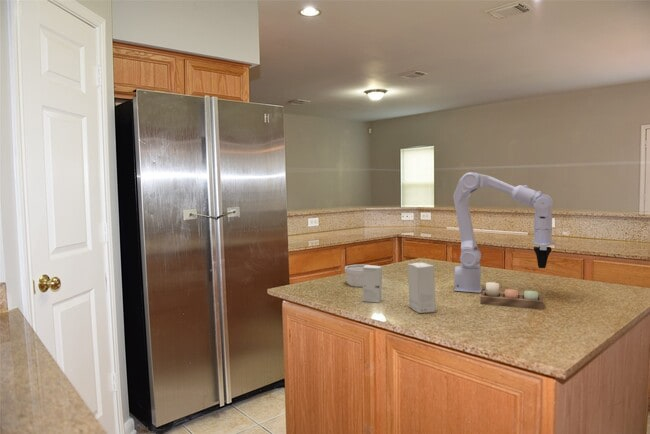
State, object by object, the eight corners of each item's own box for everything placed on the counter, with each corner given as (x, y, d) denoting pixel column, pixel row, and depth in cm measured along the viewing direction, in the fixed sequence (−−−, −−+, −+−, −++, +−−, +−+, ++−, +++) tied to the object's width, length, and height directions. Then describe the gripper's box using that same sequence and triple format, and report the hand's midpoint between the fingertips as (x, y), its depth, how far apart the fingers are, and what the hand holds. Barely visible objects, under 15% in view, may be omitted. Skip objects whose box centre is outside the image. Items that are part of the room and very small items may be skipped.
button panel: (480, 303, 153) (480, 296, 153) (482, 297, 161) (482, 290, 161) (543, 309, 145) (543, 301, 145) (542, 302, 154) (542, 295, 153)
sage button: (523, 304, 150) (524, 292, 150) (523, 301, 154) (524, 290, 153) (538, 306, 148) (538, 294, 148) (537, 302, 152) (537, 291, 152)
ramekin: (377, 280, 191) (377, 264, 190) (377, 288, 178) (377, 270, 177) (345, 280, 192) (345, 264, 191) (343, 287, 179) (343, 270, 178)
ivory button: (485, 296, 154) (485, 284, 154) (486, 293, 158) (486, 281, 158) (498, 297, 153) (498, 285, 152) (499, 294, 157) (499, 282, 156)
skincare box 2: (435, 312, 144) (436, 265, 143) (418, 313, 143) (418, 266, 141) (424, 305, 152) (424, 261, 151) (407, 306, 151) (407, 262, 150)
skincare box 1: (362, 301, 158) (362, 267, 157) (365, 298, 162) (364, 264, 161) (380, 302, 156) (379, 267, 155) (382, 299, 160) (382, 265, 159)
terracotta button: (504, 303, 152) (504, 291, 152) (504, 300, 156) (504, 288, 156) (517, 304, 151) (518, 292, 150) (518, 301, 154) (518, 289, 154)
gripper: (557, 231, 150) (556, 272, 151) (554, 227, 164) (553, 264, 165) (533, 231, 153) (532, 271, 154) (532, 226, 166) (531, 263, 168)
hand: (541, 267), depth 160 cm, fingers closed
